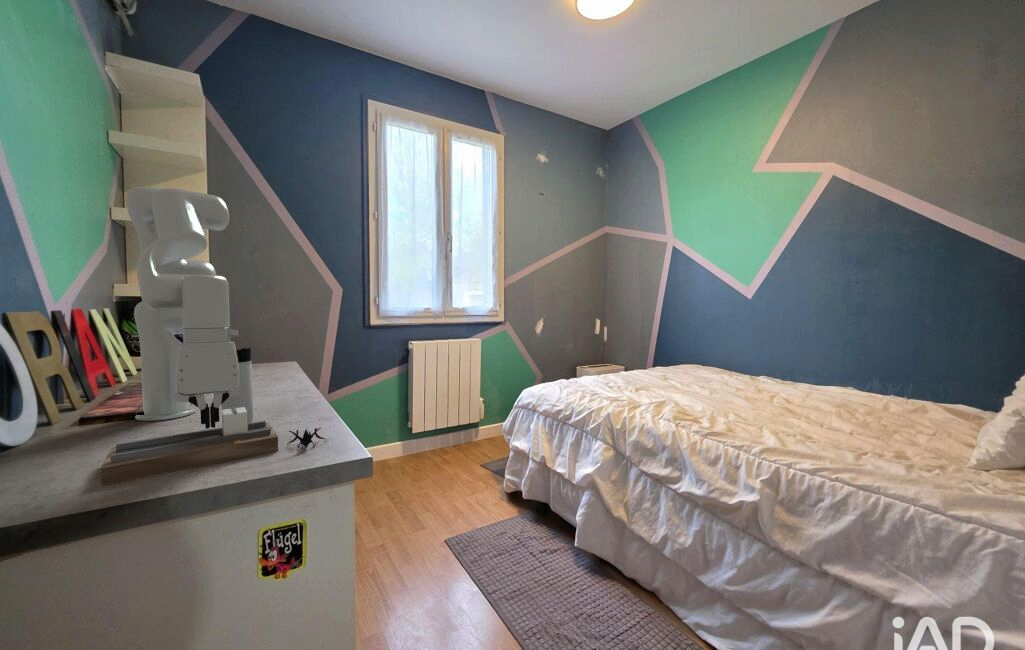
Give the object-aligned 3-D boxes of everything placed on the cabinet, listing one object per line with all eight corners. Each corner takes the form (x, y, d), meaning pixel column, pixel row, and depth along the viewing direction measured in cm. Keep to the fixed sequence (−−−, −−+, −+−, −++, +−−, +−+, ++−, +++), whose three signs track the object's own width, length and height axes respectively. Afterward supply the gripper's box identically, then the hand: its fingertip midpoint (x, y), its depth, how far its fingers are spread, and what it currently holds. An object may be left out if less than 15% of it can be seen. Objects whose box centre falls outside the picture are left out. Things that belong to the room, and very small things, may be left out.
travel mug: (239, 434, 94) (236, 349, 92) (215, 431, 95) (213, 348, 94) (260, 426, 100) (258, 346, 99) (238, 424, 101) (236, 345, 100)
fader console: (111, 463, 76) (110, 441, 76) (269, 435, 93) (268, 417, 92) (101, 485, 67) (100, 461, 67) (278, 450, 83) (277, 430, 83)
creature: (288, 447, 88) (283, 452, 81) (288, 423, 89) (283, 425, 82) (327, 443, 92) (325, 447, 84) (327, 419, 92) (325, 421, 85)
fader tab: (222, 433, 84) (221, 408, 84) (245, 429, 87) (244, 405, 86) (224, 439, 80) (223, 414, 80) (247, 435, 83) (247, 410, 83)
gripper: (249, 333, 87) (251, 416, 88) (158, 337, 78) (162, 429, 79) (253, 336, 82) (256, 424, 83) (156, 340, 72) (160, 439, 73)
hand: (210, 426), depth 81 cm, fingers closed
